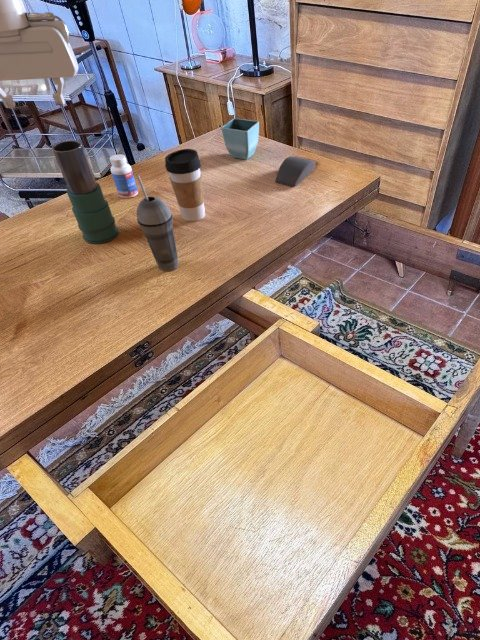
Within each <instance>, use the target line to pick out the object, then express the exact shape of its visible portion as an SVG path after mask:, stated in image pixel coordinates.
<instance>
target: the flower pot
mask: <svg viewBox="0 0 480 640" xmlns="http://www.w3.org/2000/svg"><path fill="white" fill-rule="evenodd" d="M220 129H221V133H222V139H223V141H224V146H225V147H226V149H227V152H229V155H230V156H231V157H232V158H234V159H240V160H246V161H247V160H248V159H250V158H251V157H252V156H253V155H254V154H255V152H256V150H257V147H258V143H259V137H260V136H259V135H260V121H258V120H251V119H244V118H237V117H233V118H232V119H231V120H229V121H228V122H227V123H225V124H224V125H222V127H220Z"/></svg>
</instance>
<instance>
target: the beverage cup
mask: <svg viewBox="0 0 480 640" xmlns="http://www.w3.org/2000/svg"><path fill="white" fill-rule="evenodd" d="M136 179H137V181H138V183H139V185H140V188H141V191H142V193H143V195H144V196H143V197H144V198H142V199H141V200H140V202H139V203H138V205H137V208H136V221H137V223H138V224H139V227H140V229H141V230H142V232H143V234H144V236H145V239H146V241H147V243H148V246H149V248H150V250H151V253H152V256H153V259H154V260H155V263H156V264H157V267H158V269H159V270H160V271H162V272H172V271H175V270H176V269H177V268H178V267H179V256H178V251H177V245H176V238H175V234H174V227H173V226H174V223H173V222H174V220H173V214H172V212H171V209H170V207H169V205H168V204H167V202H165V201H164V200H163V199H161V198H160V197H157V196H148V194H147V192H146V189H145V187H144V184H143V182H142V179H141V176H140V174H137V175H136Z"/></svg>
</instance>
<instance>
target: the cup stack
mask: <svg viewBox="0 0 480 640" xmlns="http://www.w3.org/2000/svg"><path fill="white" fill-rule="evenodd" d="M96 183H97V189H96V190H94V191H93V192H91V193H88V194H83V195H75V194H72V193H70V192H69V189H68V188H66V194H67V197H68V199H69V201H70V204H71V206H72V207H71V210H72V213H73V215H74V218H75V221H76V222H77V226H78V229H79V231H80V232H81V233H82V239H83V241H85V242H86V243H87V244H91V245H102V244H106V243H109V242H111V241H113V240H115V239H116V238H117V237H118V236H119V235H120V230H119V228H118V226H117V225H116V219H115V217H114V216H113V213H112V210H111V208H110V204H109V202H108V200H106V198H105V195H104V193H103V191H102V187H101V185H100V184H99V182H96Z"/></svg>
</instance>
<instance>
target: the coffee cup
mask: <svg viewBox="0 0 480 640" xmlns="http://www.w3.org/2000/svg"><path fill="white" fill-rule="evenodd" d="M164 162H165V165H164V167H165V171H167V172H168V174H169V175H168V176H169V181H170V184H171V187H172V190H173V192H174V195H175V199H176V202H177V205H178V207H179V211H180V213H181V217H182V219H183V220H184V221H186V222H198V221H201V220H202V219H204V218H205V217H206V210H205V197H204V187H203V177H202V175H203V174H202V172H201V167H202V162H201V159H200V157H199V153H198V151H197V150H195V149H193V148H182V149H180V150H175V151H173V152H170V153H168V154H166V156H165V157H164Z"/></svg>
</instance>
